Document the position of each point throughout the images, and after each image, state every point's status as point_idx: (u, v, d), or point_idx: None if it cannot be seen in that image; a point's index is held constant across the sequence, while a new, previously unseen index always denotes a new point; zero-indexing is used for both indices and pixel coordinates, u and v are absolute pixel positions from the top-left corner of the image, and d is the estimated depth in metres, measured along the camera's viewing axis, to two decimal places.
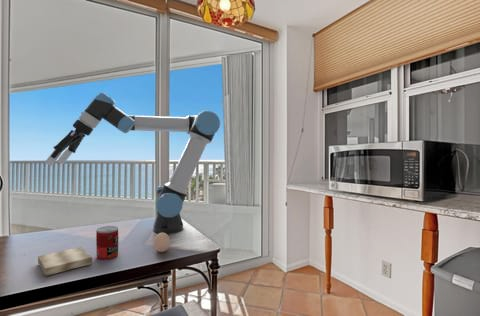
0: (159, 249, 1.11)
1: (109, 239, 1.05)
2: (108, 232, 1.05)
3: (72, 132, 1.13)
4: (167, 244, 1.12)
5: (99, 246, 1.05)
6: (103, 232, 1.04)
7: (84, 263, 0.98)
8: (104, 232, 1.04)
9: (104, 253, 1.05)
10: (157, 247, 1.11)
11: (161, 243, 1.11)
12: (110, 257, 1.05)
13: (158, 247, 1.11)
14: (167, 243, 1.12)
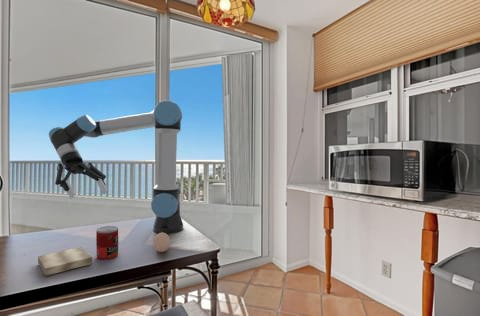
0: (159, 249, 1.11)
1: (109, 239, 1.05)
2: (108, 232, 1.05)
3: (57, 167, 1.12)
4: (167, 244, 1.12)
5: (99, 246, 1.05)
6: (103, 232, 1.04)
7: (84, 263, 0.98)
8: (104, 232, 1.04)
9: (104, 253, 1.05)
10: (157, 247, 1.11)
11: (161, 243, 1.11)
12: (110, 257, 1.05)
13: (158, 247, 1.11)
14: (167, 243, 1.12)
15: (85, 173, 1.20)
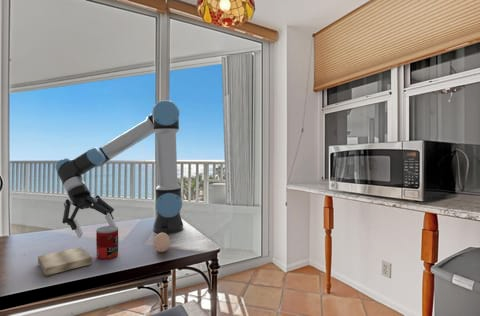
0: (159, 249, 1.11)
1: (109, 239, 1.05)
2: (108, 232, 1.05)
3: (64, 203, 1.09)
4: (167, 244, 1.12)
5: (99, 246, 1.05)
6: (103, 232, 1.04)
7: (84, 263, 0.98)
8: (104, 232, 1.04)
9: (104, 253, 1.05)
10: (157, 247, 1.11)
11: (161, 243, 1.11)
12: (110, 257, 1.05)
13: (158, 247, 1.11)
14: (167, 243, 1.12)
15: (93, 207, 1.16)
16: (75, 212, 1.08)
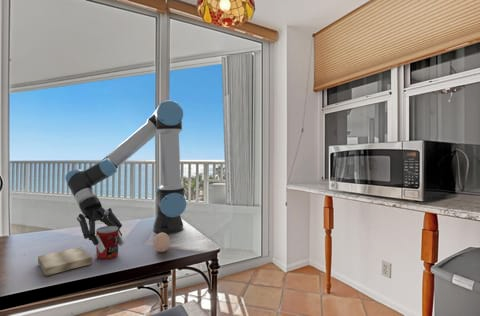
0: (159, 249, 1.11)
1: (109, 238, 1.05)
2: (108, 232, 1.05)
3: (78, 218, 1.06)
4: (167, 244, 1.12)
5: None
6: (103, 232, 1.04)
7: (84, 263, 0.98)
8: (104, 232, 1.04)
9: (104, 253, 1.05)
10: (157, 247, 1.11)
11: (161, 243, 1.11)
12: (110, 257, 1.05)
13: (158, 247, 1.11)
14: (167, 243, 1.12)
15: (102, 220, 1.13)
16: (93, 226, 1.06)
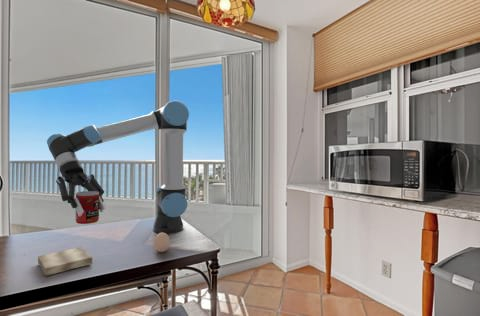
0: (159, 249, 1.11)
1: (89, 202, 1.01)
2: (88, 195, 1.01)
3: (57, 180, 1.02)
4: (167, 244, 1.12)
5: None
6: (82, 195, 1.00)
7: (84, 263, 0.98)
8: (83, 195, 1.00)
9: (83, 217, 1.00)
10: (157, 247, 1.11)
11: (161, 243, 1.11)
12: (89, 221, 1.01)
13: (158, 247, 1.11)
14: (167, 243, 1.12)
15: (84, 185, 1.09)
16: (73, 189, 1.02)
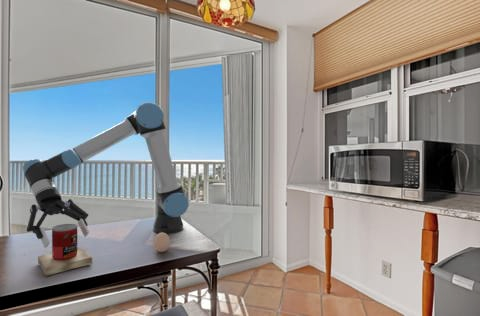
0: (159, 249, 1.11)
1: (66, 237, 0.97)
2: (64, 230, 0.96)
3: (30, 209, 0.98)
4: (167, 244, 1.12)
5: (54, 245, 0.96)
6: (59, 230, 0.96)
7: (84, 263, 0.98)
8: (60, 230, 0.96)
9: (60, 253, 0.96)
10: (157, 247, 1.11)
11: (161, 243, 1.11)
12: (66, 257, 0.97)
13: (158, 247, 1.11)
14: (167, 243, 1.12)
15: (64, 213, 1.05)
16: (42, 219, 0.97)
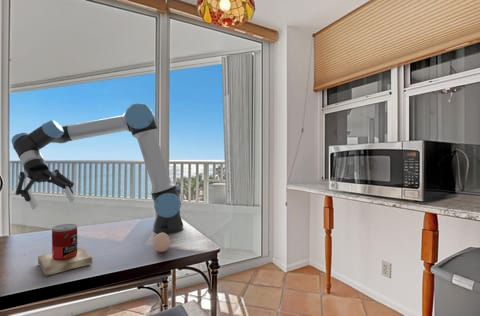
0: (159, 249, 1.11)
1: (66, 237, 0.97)
2: (64, 230, 0.96)
3: (19, 175, 1.06)
4: (167, 244, 1.12)
5: (54, 245, 0.96)
6: (58, 230, 0.96)
7: (84, 263, 0.98)
8: (60, 230, 0.96)
9: (60, 253, 0.96)
10: (157, 247, 1.11)
11: (161, 243, 1.11)
12: (67, 257, 0.97)
13: (158, 247, 1.11)
14: (167, 243, 1.12)
15: (51, 181, 1.14)
16: (30, 184, 1.05)
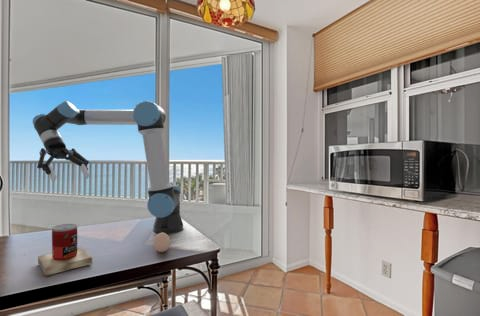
0: (159, 249, 1.11)
1: (66, 237, 0.97)
2: (64, 230, 0.96)
3: (40, 151, 1.16)
4: (167, 244, 1.12)
5: (54, 245, 0.96)
6: (58, 230, 0.96)
7: (84, 263, 0.98)
8: (60, 230, 0.96)
9: (60, 253, 0.96)
10: (157, 247, 1.11)
11: (161, 243, 1.11)
12: (67, 257, 0.97)
13: (158, 247, 1.11)
14: (167, 243, 1.12)
15: (68, 158, 1.23)
16: (50, 159, 1.14)
